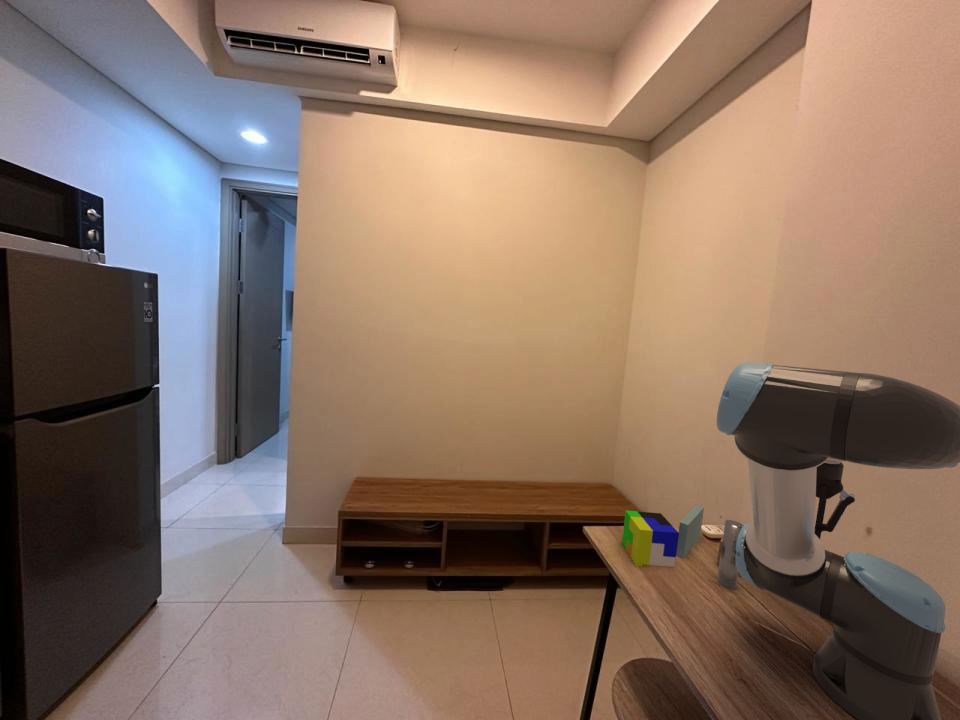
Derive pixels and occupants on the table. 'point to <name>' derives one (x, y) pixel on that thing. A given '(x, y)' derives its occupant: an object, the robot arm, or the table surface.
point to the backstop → (689, 530)
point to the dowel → (729, 556)
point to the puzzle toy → (650, 539)
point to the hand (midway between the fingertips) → (806, 552)
